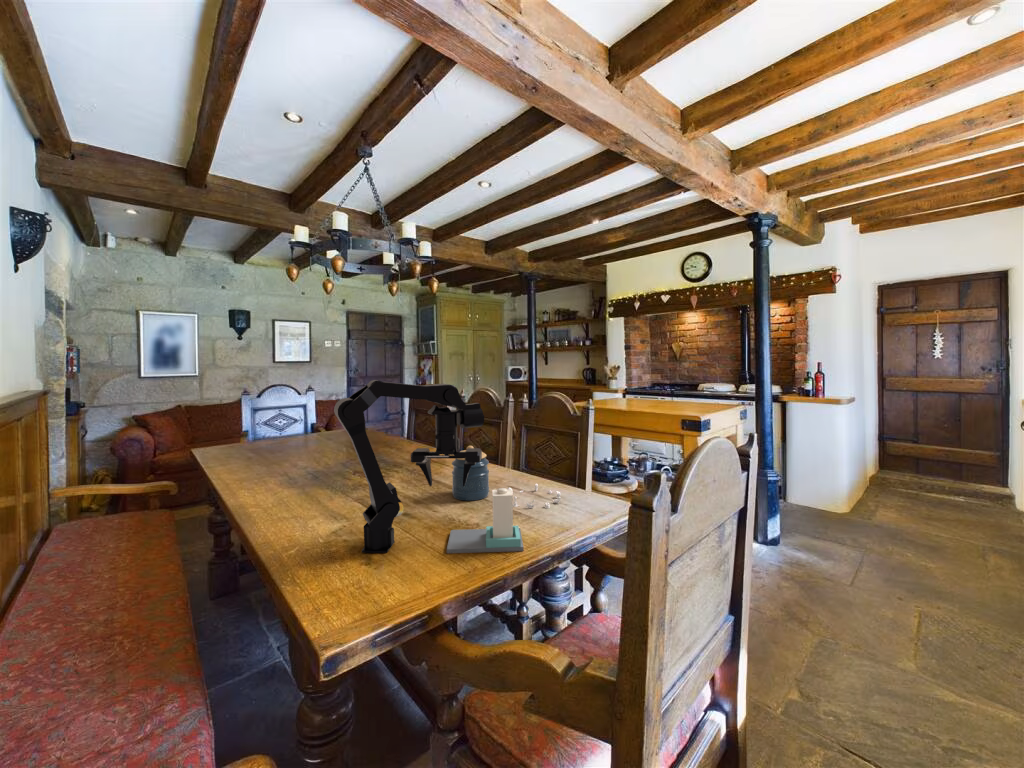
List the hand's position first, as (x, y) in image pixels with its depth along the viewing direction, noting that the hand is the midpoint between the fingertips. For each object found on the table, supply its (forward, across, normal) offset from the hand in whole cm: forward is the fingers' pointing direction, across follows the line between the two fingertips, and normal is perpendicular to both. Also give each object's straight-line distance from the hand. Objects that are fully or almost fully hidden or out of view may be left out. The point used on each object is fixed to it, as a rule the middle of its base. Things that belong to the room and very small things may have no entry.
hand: (447, 486), depth 117 cm
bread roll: (+13, +21, -14) cm, 29 cm away
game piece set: (+14, -24, -28) cm, 39 cm away
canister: (+13, -2, -32) cm, 35 cm away
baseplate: (+13, -11, +6) cm, 18 cm away
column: (+12, -16, +7) cm, 21 cm away
